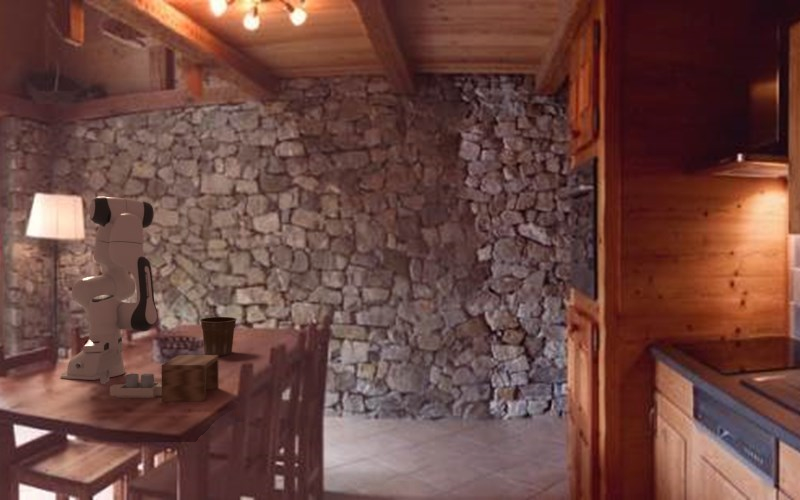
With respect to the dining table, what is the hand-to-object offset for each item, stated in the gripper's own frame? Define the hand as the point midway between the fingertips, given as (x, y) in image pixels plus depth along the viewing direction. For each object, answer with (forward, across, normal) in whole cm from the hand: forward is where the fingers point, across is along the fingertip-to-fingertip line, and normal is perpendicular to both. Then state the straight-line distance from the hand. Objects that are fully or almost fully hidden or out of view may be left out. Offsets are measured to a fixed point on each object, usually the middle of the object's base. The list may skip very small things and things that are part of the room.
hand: (105, 382), depth 195 cm
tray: (+4, 0, +12) cm, 12 cm away
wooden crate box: (+5, +1, +29) cm, 29 cm away
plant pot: (+4, -67, +23) cm, 71 cm away
